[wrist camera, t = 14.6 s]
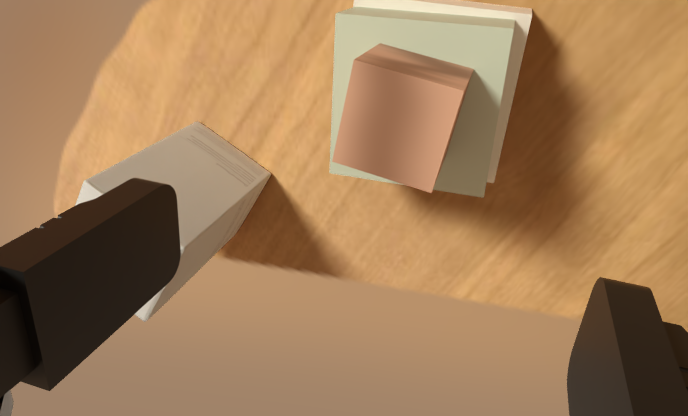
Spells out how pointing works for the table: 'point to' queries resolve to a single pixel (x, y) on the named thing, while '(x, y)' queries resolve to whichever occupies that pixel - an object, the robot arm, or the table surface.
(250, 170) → the supplement box
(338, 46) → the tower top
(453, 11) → the tower base
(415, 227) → the table surface
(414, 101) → the terracotta cube
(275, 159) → the table surface
